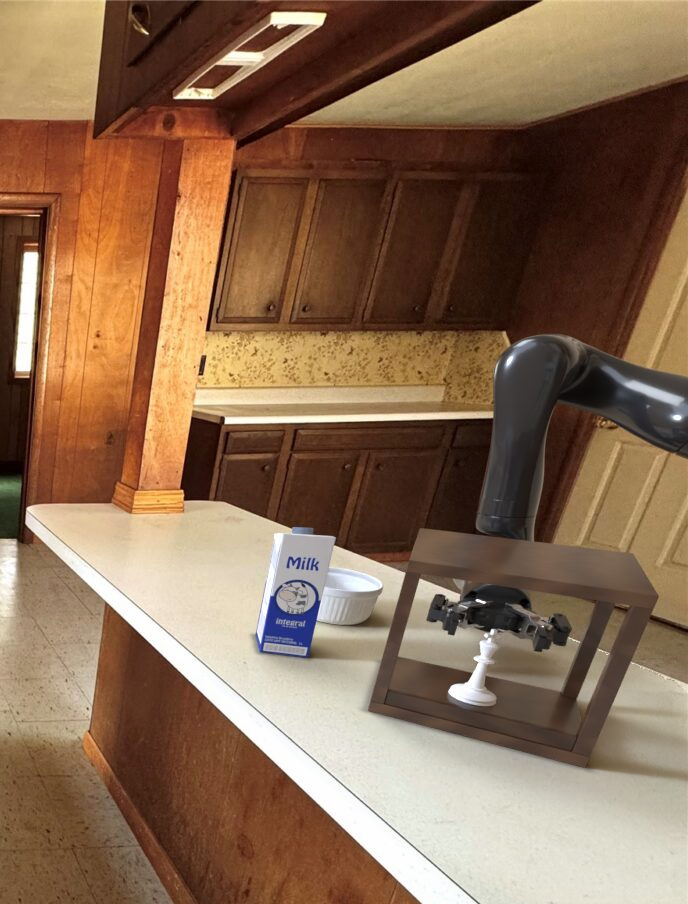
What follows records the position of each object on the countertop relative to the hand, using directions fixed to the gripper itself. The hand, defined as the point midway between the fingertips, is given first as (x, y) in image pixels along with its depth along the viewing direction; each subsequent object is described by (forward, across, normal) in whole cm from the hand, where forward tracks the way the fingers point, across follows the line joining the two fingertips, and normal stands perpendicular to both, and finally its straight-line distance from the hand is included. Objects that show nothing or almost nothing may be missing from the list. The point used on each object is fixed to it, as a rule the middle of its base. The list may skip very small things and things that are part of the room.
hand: (495, 636), depth 85 cm
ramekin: (-26, -20, +11) cm, 35 cm away
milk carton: (-6, -24, +11) cm, 27 cm away
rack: (0, 0, +11) cm, 11 cm away
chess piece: (0, 0, +10) cm, 10 cm away
